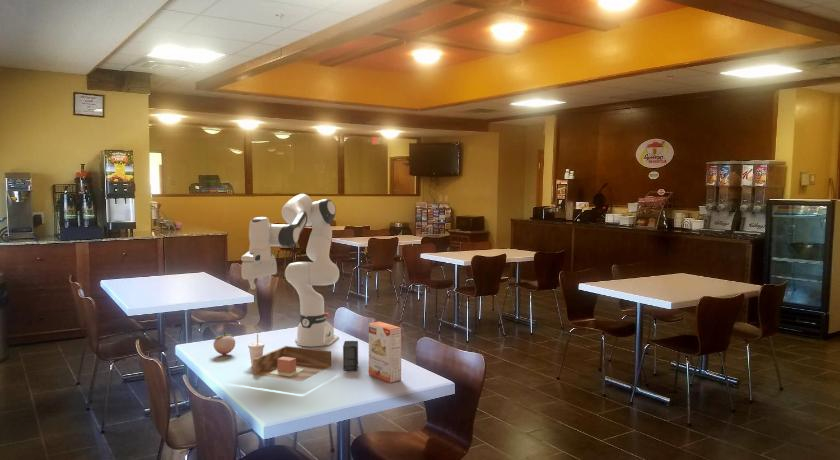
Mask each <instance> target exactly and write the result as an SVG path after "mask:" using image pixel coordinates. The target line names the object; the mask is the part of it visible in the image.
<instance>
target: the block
mask: <svg viewBox="0 0 840 460" xmlns="http://www.w3.org/2000/svg"><path fill="white" fill-rule="evenodd" d="M277 369H278V372H285V373H292V372H294V371H296V358H291V357H281V358H279V359H277Z"/></svg>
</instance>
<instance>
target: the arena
mask: <svg viewBox="0 0 840 460" xmlns="http://www.w3.org/2000/svg"><path fill="white" fill-rule="evenodd" d="M281 357H291V358H296V368H300V369H305V370H303V371H301V372H299V373H297V374H295V375H293V376H291V377H289V376H282V375H275V374H269V373H270V372H272V371H274V370H277V359H279V358H281ZM330 367H332V350H323V349H316V348H307V347H298V346H297V347H296V346H290V345H284V346H282V347H279V348H277V349H275V350H272V351H270V352H267V353H265V354H263V355H262V356H260V357H257V358H255V359H253V367H252V368H253V375H255V376H262V377H268V378H269V377H270V378H276V379H285V380H290V381H291V380H292V381H296V382H297V381H299V382H303V381H305V380H306V379H309V378H311V377H313V376H314V375H317V374H318V373H320V372H322V371H324V370H326V369H328V368H330Z"/></svg>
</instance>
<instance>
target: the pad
mask: <svg viewBox="0 0 840 460" xmlns="http://www.w3.org/2000/svg"><path fill="white" fill-rule="evenodd" d="M303 370H305V369H300V368H296V371H294V372H292V373H285V372H278V369H277V370H274V371H272V372H270V373H269V374H275V375H282V376H289V377H291V376H293V375H295V374H297V373H299V372H301V371H303Z"/></svg>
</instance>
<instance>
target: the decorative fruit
mask: <svg viewBox="0 0 840 460" xmlns="http://www.w3.org/2000/svg"><path fill="white" fill-rule="evenodd" d="M223 333H224V334H223V335H218V336H216V337H215V338H214V340H213V348H214V350H215V351H216V353H218V354H220V355H222V356H226V355H228V354H229V353H231V352H233V350H234V349H235V347H236V340H235V338H234V337H235V336H234V335H233V334H230V333H228V334H226V333H225V332H223Z"/></svg>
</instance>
